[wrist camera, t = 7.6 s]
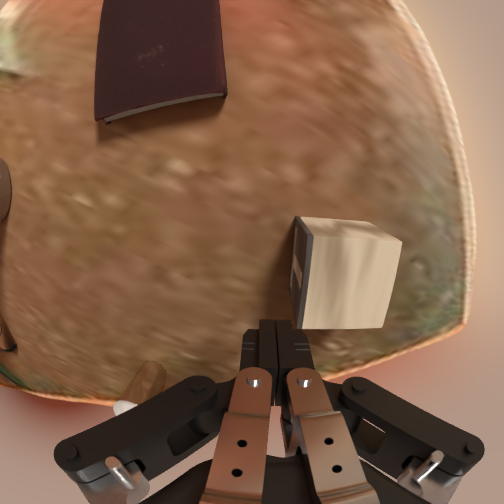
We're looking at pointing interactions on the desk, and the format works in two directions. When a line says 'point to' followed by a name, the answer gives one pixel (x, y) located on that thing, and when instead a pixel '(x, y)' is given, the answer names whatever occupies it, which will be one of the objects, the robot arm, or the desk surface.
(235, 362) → the desk surface
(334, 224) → the maple block
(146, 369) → the milkshake
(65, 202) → the desk surface
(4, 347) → the sunglasses case
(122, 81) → the book
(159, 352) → the desk surface
